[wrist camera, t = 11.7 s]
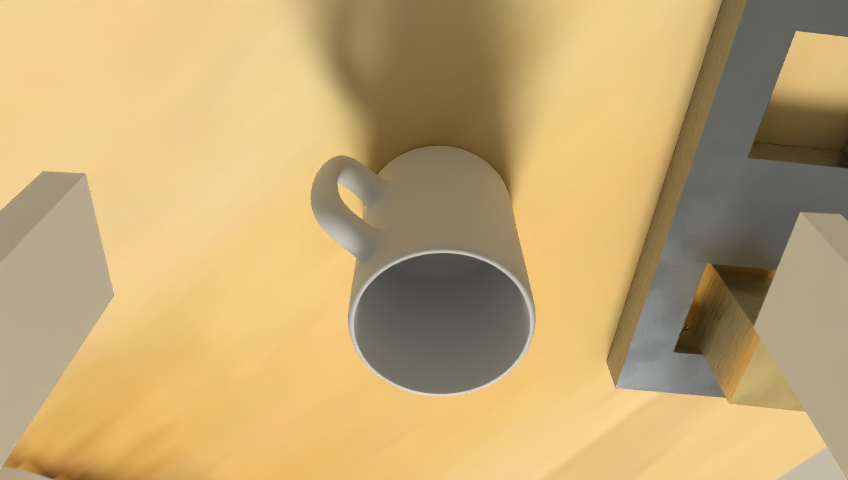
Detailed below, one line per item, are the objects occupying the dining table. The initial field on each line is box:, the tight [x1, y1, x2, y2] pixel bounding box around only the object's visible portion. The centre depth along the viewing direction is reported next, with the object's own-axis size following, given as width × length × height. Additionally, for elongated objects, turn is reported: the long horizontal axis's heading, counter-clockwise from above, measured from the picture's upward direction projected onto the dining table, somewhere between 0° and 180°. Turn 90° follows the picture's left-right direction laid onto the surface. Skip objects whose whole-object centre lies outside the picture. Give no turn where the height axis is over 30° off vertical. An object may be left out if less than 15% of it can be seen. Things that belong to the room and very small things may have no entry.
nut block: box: [685, 263, 806, 412], centre depth 39 cm, size 4×4×8 cm
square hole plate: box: [607, 0, 848, 398], centre depth 38 cm, size 26×12×2 cm, turn 174°
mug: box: [311, 145, 536, 396], centre depth 34 cm, size 12×8×11 cm
